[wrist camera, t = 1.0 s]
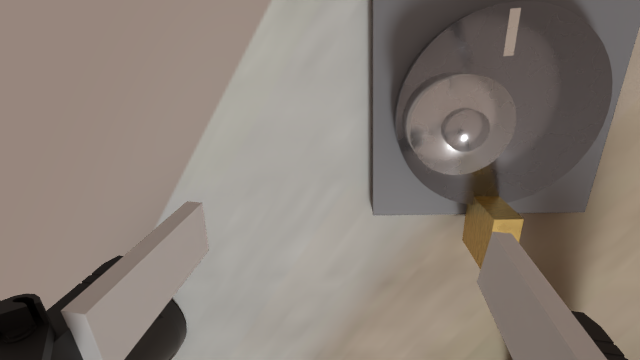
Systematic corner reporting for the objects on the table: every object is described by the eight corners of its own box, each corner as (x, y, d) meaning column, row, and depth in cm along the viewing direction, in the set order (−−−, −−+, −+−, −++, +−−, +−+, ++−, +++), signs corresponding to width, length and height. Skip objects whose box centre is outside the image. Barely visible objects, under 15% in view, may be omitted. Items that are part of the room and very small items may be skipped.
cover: (400, 161, 30) (410, 181, 25) (403, 74, 27) (416, 79, 22) (486, 158, 29) (514, 178, 24) (500, 68, 26) (534, 72, 21)
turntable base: (372, 209, 36) (373, 216, 34) (372, -8, 27) (373, -12, 26) (574, 205, 33) (586, 213, 32) (641, -32, 25) (661, -38, 24)
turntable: (390, 239, 35) (399, 275, 29) (397, 13, 26) (410, 1, 21) (559, 238, 33) (603, 276, 27) (625, -6, 24) (709, -25, 19)
